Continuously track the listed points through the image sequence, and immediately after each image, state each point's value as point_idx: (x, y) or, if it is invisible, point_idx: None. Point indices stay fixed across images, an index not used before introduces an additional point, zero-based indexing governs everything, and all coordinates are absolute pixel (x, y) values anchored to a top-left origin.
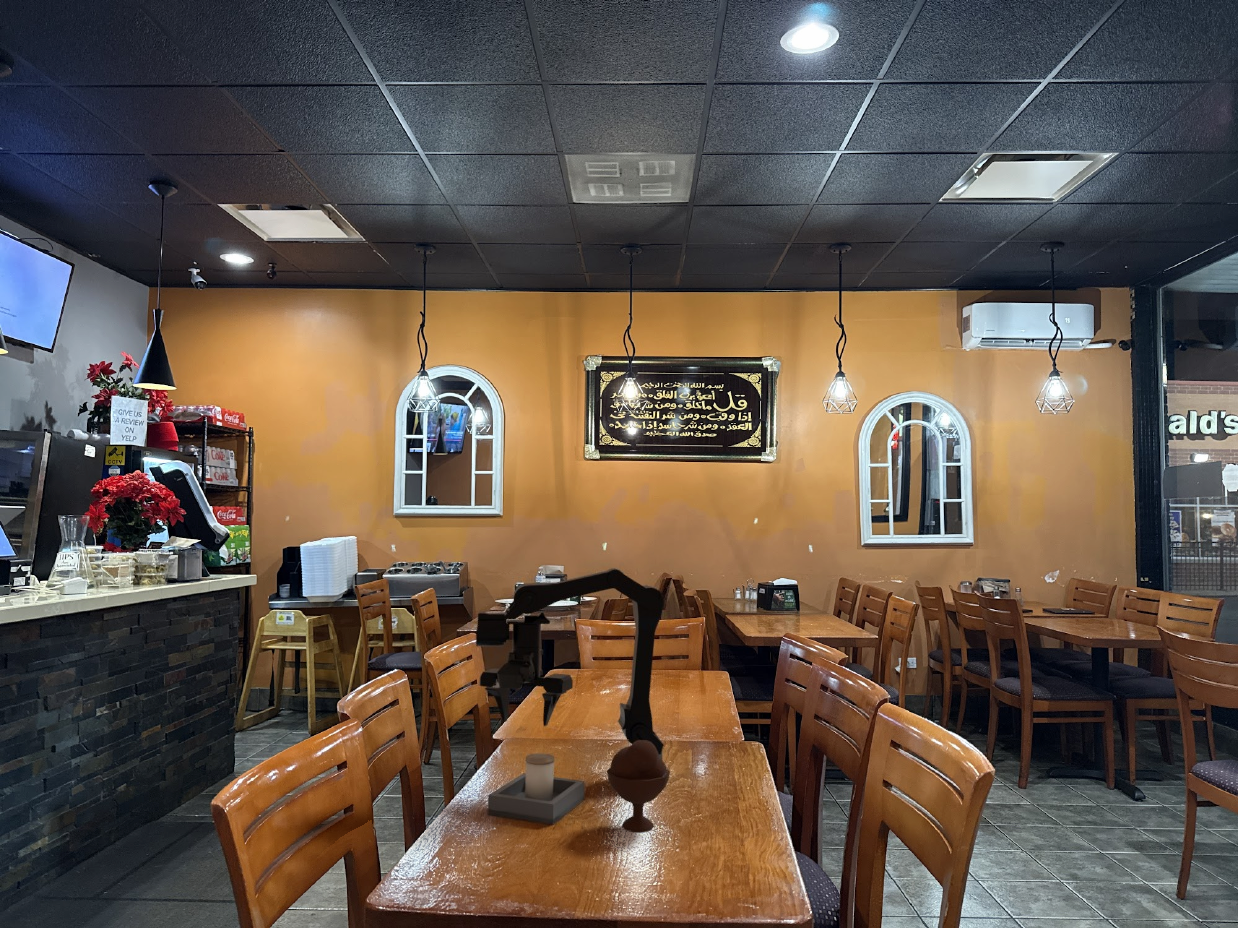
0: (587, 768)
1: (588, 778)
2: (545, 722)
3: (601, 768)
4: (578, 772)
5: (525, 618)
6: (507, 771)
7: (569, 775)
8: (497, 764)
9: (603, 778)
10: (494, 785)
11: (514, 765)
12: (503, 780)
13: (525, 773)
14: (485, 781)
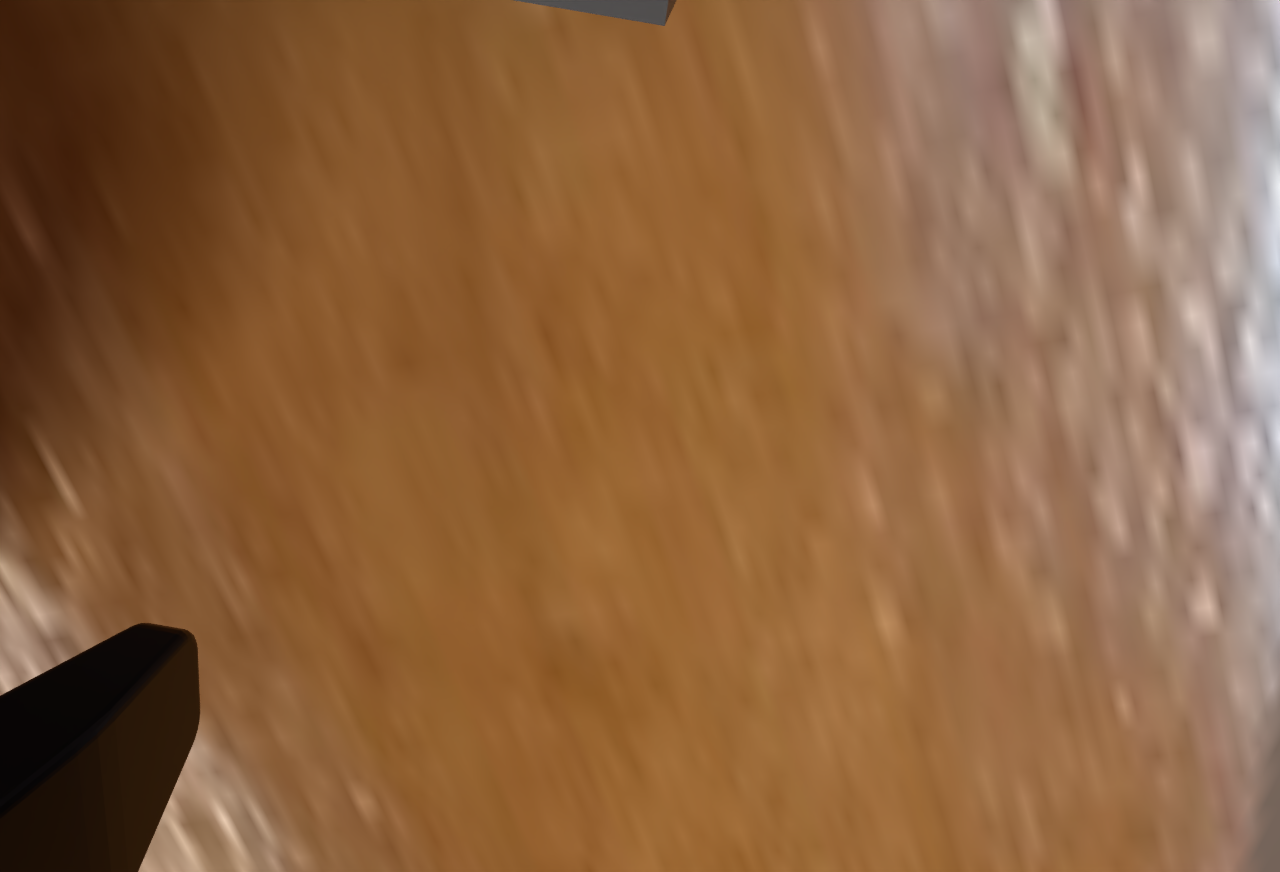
0: (296, 802)
1: (160, 555)
2: (78, 661)
3: (178, 817)
4: (328, 696)
5: None
6: (1057, 618)
7: (375, 606)
8: (1213, 793)
9: (28, 579)
10: (1116, 128)
11: (1022, 789)
12: (1038, 331)
13: (635, 12)
14: (1263, 252)
